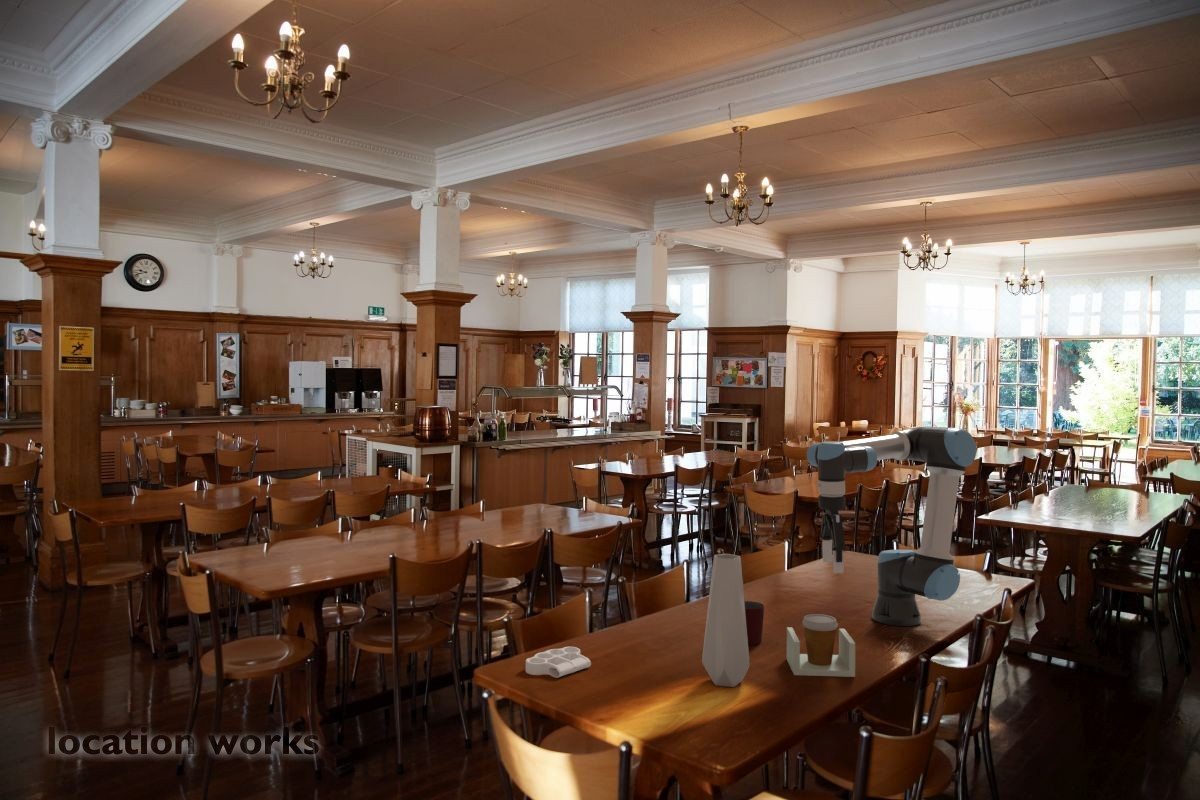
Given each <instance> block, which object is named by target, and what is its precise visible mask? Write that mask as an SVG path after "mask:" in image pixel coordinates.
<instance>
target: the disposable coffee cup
mask: <svg viewBox="0 0 1200 800" xmlns="http://www.w3.org/2000/svg"><path fill="white" fill-rule="evenodd" d="M801 624H802V626H803V629H804V638H805V646H806V647H805V648H806V654H807V656H808V662H809V663H811V664H814V665H820V666H825V665H830V664H831V663H832V656H833V655H834V647H835V640H836V633H837V628H838V626H839V623H838V622H837V619H836V617H833V616H831V615H828V614H820V613H819V614H818V613H816V614H813V613H811V614H807V615H806V614H805V616H804V617H803V620H802V623H801Z"/></svg>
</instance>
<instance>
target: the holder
mask: <svg viewBox="0 0 1200 800" xmlns="http://www.w3.org/2000/svg"><path fill="white" fill-rule="evenodd" d="M786 660H787V663H788V665H789V667H790V670H791V671H792V674H793V675H794V676H809V677H811V676H815V677H844V678H847V677H848V678H849V677H850V678H851V677H852V678H855V677H856V642H855V641H854V639H853V638H852V637H851V635H850V634H849V633H848V631H847V630H846V629H845V628H838V654H833V656H832V663H831V664H830V665H825V666H820V665H814V664H811V663H809V662H808V656H807V653H801V641H800V639H799V637H798V636H797V633H796V632H795V630H794V628H793V627H789V626H787V627H786Z"/></svg>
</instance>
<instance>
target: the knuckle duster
mask: <svg viewBox="0 0 1200 800" xmlns="http://www.w3.org/2000/svg"><path fill="white" fill-rule="evenodd" d="M591 665H592V662H591V660H590V659H589V658H588V657H587V656H584V655H583V654H581V649H580V648H578V647H576V646H564V647H561V648H552V649H547V650H545V651H541V652H537V653H536V654H534V656H532V657H528V658H526V660H525V673H526V674H529V675H532V676H542V675H549V676H550V677H553V678H556V679H558V678H561V677H563V676H566V675H569V674H573V673H575V672H577V671H581V670H584V669H588V668H590V667H591Z"/></svg>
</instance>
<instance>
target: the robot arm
mask: <svg viewBox="0 0 1200 800" xmlns="http://www.w3.org/2000/svg"><path fill="white" fill-rule="evenodd" d="M976 456H977V445H976V442H975V439H974V437H972V434H971V433H970V432H969V431H967V430H966V429H963V428H957V427H942V426H941V427H940V426H918V427H911V428H907V429H902V430H897V431H895V430H894V431H893V432H891V433H890V434H888V435H880V436H875V437H874V436H873V437H867V438H859V439H852V440H850V439H849V440H843V441H822V442H814V443H812V444H810V445H809V447H808V449H807V451H806V459H807V462H808V463H809V464H810V465H811V466H813V467H816V468H817V476H818V477H817V479H818V480H817V482H818V483H816V487H817V488H818V493H819V495H818V498H817V499H818V507H819V509H821V510H822V516H821V527H820V528H821V529H820V537H821V539H822V542H821V543H822V562H823V563H832V564H833V574H844V573H845V571H844V570H845V569H844V568H845V567H844V565H845V564H844V563H845V562H844V550H846V541H845V535H844V527H843V526H844V525H843V516H842V514H840V513H839V511H840V510H844V509H845V508H846V496H845V494H846V474H851V473H859V472H863V473H865V472H868V471H872V470H873V469H874V468H876V466H877V464H878V461H882V460H884V461H885V460H888V459H895V460H896V461H903V460H904V461H905V460H908V461H910V460H911V461H917V462H924V463H926V464H925V468H926V469H927V471H928V472H929V479H928V486H927V487H928V488H927V494H926V495H927V496H926V502H925V509H924V517H923V526H922V533H921V541H920V547H919V548H917V549H916V550H912V549H889V550H888V549H887V550H882V551H880V552H879V554H878V560H877V597H876V599H875V602H874V606H873V608H872V611H871V615H872V616H871V618H872V619H873V621H876V622H877V623H881V624H884V625H888V626H897V627H913V626H919V625H920V624H921V622H922V617H921V616H922V615H921V611H920V609H919V605H918V603H917V599H916V596H921V597H924V598H927V599H929V600H936V601H940V602H942V601H947V600H949V599H950V598H952V596H953V595H954V594H956V592H957V590H958V589H959V586H960V583H961V574H960V572H959V571H960V570H959V569H958V568H957V566H955V565H954V563H955V562H954V561H955V559H954V558H955V557H953V556H952V554H951V552H950V551H951V543H952V535H953V529H954V520H955V512H956V504H957V499H958V498H957V497H958V496H957V495H958V489H959V480H960V477H961V476H963V475H964V474H965V473H966V467H968V466H971V465H972V464H973V462H974V461H975V460H976Z"/></svg>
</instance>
